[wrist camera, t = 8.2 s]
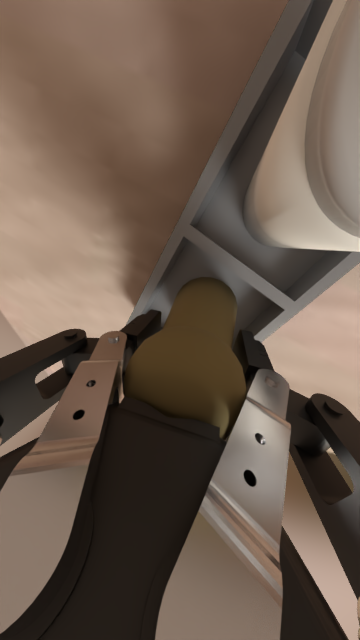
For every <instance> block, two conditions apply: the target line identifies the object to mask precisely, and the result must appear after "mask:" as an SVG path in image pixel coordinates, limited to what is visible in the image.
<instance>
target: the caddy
mask: <svg viewBox="0 0 360 640" xmlns="http://www.w3.org/2000/svg"><path fill="white" fill-rule="evenodd" d="M332 1H333V0H289V1H288V3H287V5H286V7H285V9H284V11H283V13H282V15H281V17H280V19H279V21H278V23H277V25H276V27H275V29H274V31H273V33H272V35H271V37H270V39H269V41H268V43H267V45H266V47H265V49H264V51H263V53H262V55H261V57H260V59H259V61H258V63H257V65H256V67H255V69H254V71H253V73H252V75H251V77H250V79H249V81H248V83H247V85H246V87H245V89H244V91H243V93H242V95H241V97H240V99H239V101H238V103H237V105H236V107H235V109H234V111H233V113H232V115H231V117H230V119H229V121H228V123H227V125H226V127H225V129H224V131H223V133H222V135H221V137H220V139H219V141H218V143H217V145H216V147H215V149H214V151H213V153H212V155H211V157H210V159H209V161H208V163H207V165H206V167H205V169H204V171H203V173H202V175H201V177H200V179H199V181H198V183H197V185H196V187H195V189H194V190H193V192H192V194H191V196H190V198H189V200H188V202H187V204H186V206H185V208H184V210H183V212H182V214H181V216H180V218H179V220H178V222H177V224H176V226H175V228H174V230H173V232H172V234H171V236H170V238H169V240H168V242H167V244H166V246H165V248H164V250H163V252H162V254H161V256H160V258H159V260H158V262H157V264H156V266H155V268H154V270H153V272H152V274H151V276H150V278H149V280H148V282H147V284H146V286H145V288H144V290H143V292H142V294H141V296H140V298H139V300H138V302H137V304H136V306H135V308H134V310H133V312H132V314H131V316H130V318H129V320H128V322H127V324H128V323H130V322H131V321H132V320H133V319H134V318H136V317H137V316H139V315H142V314H146V313H147V312H148V311H150V310H151V309H153V310H157V311H161V314H162V315H161V329H160V331H161V330H162V329H163V327H164V324H165V322H166V320H167V317H168V315H169V312H170V310H171V308H172V305H173V303H174V300H175V298H176V296H177V293H178V292H179V290H180V289H181V288H182V286H183V285H185V284H186V283H187V282H189V281H190V280H193V279H196V278H200V277H212V278H215V279H218V280H220V281H223V282H224V283H225V284H226V285H227V286H229V287H230V288H231V290H232V291H233V293H234V295H235V296H236V301H237V314H236V321H235V328H234V336H233V343H232V350H233V346H234V344H235V341H236V338H237V335H238V333H239V330H240V329H242V330H246V331H251V332H252V333H253V336H254V338H255V340H258V341H260V342H262V341H264V340H265V339H266V338H267V337H269V336H270V335H271V334H272V333H274V332H275V331H276V330H277V329H278V328H280V327H281V326H282V325H283V324H285V323H286V322H287V321H288V320H290V319H291V318H292V317H293V316H295V315H296V314H297V313H298V312H299V311H301V310H302V309H303V308H304V307H306V306H307V305H308V304H309V303H311V302H312V301H313V300H314V299H316V298H317V297H318V296H319V295H320V294H322V293H323V292H324V291H325V290H327V289H328V288H329V287H330V286H332V285H333V284H334V283H335V282H336V281H338V280H339V279H340V278H341V277H343V276H344V275H345V274H346V273H348V272H349V271H350V270H351V269H353V268H354V267H355V266H356V265H357V264H359V263H360V252H355V251H336V250H317V249H298V248H279V247H269V246H265V245H262V244H260V243H258V242H257V241H256V240H254V239H253V238H252V237H251V235H250V234H249V232H248V231H247V229H246V226H245V223H244V218H243V204H244V199H245V195H246V192H247V189H248V187H249V184H250V182H251V180H252V178H253V175H254V173H255V171H256V169H257V167H258V164H259V162H260V160H261V158H262V156H263V153H264V151H265V149H266V147H267V145H268V142H269V140H270V138H271V136H272V134H273V131H274V129H275V127H276V125H277V123H278V120H279V118H280V116H281V114H282V112H283V109H284V107H285V105H286V103H287V101H288V98H289V96H290V94H291V92H292V90H293V87H294V85H295V83H296V81H297V78H298V76H299V74H300V72H301V70H302V67H303V65H304V63H305V61H306V59H307V56H308V54H309V52H310V50H311V48H312V45H313V43H314V41H315V39H316V37H317V34H318V32H319V30H320V28H321V26H322V23H323V21H324V19H325V17H326V15H327V12H328V10H329V8H330V6H331V4H332ZM127 324H126V325H127Z"/></svg>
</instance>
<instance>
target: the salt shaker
mask: <svg viewBox="0 0 360 640" xmlns="http://www.w3.org/2000/svg"><path fill="white" fill-rule="evenodd" d="M243 218H244V223H245V226H246V229H247V231H248V232H249V234H250V235H251V237H252V238H253V239H254V240H256V241H257V242H258V243H260V244H262V245H265V246H269V247H279V248H298V249H317V250H336V251H355V252H360V0H333V1H332V4H331V6H330V8H329V10H328V12H327V15H326V17H325V19H324V21H323V23H322V26H321V28H320V30H319V32H318V34H317V37H316V39H315V41H314V43H313V45H312V48H311V50H310V52H309V54H308V56H307V59H306V61H305V63H304V65H303V67H302V70H301V72H300V74H299V76H298V78H297V81H296V83H295V85H294V87H293V90H292V92H291V94H290V96H289V98H288V101H287V103H286V105H285V107H284V109H283V112H282V114H281V116H280V118H279V120H278V123H277V125H276V127H275V129H274V131H273V134H272V136H271V138H270V140H269V142H268V145H267V147H266V149H265V151H264V153H263V156H262V158H261V160H260V162H259V164H258V167H257V169H256V171H255V173H254V175H253V178H252V180H251V182H250V184H249V187H248V189H247V192H246V195H245V199H244V204H243Z"/></svg>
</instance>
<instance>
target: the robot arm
mask: <svg viewBox="0 0 360 640" xmlns="http://www.w3.org/2000/svg"><path fill="white" fill-rule="evenodd" d="M161 315H162V314H161V311H157V310H153V309H151V310H150V311H148V312H147V313H146V314H142V315H139V316H137V317H136V318H134V319H133V320H132V321H131V322H130V323H128V324H127V325H126V326H125V327H124V328H122V329H121V330H120V331H111V332H107V333H105V334H103V335H102V336H101V337H100V338H87V337H86V332H85V331H84V330H81V329H69V330H65V331H63V332H60V333H58V334H56V335H53V336H51V337H49V338H46V339H44V340H42V341H39V342H37V343H35V344H32V345H30V346H28V347H25V348H23V349H21V350H19V351H16V352H14V353H12V354H9V355H7V356H5V357H2V358H0V446H1V445H2V444H3V443H5V442H6V441H7V440H8V439H10V438H11V437H12V436H14V435H15V434H16V433H17V432H19V431H20V430H21V429H23V428H24V427H25V426H27V425H28V424H29V423H30V422H32V421H33V420H34V419H36V418H37V417H38V416H39V415H41V414H42V413H43V412H45V411H46V410H47V409H48V408H49V407H51V406H52V405H54V404H55V403H56V402H58V401H59V402H58V404H57V406H56V408H55V410H54V411H53V413H52V415H51V417H50V419H49V421H48V422H47V424H46V426H45V428H44V430H43V432H42V434H41V435H40V437H38V438H36V439H34V440H32V441H30V442H28V443H27V444H25V445H23V446H21V447H19V448H17V449H15V450H13V451H11V452H9V453H7V454H6V455H4V456H2V457H0V640H348V638H347V636H346V634H345V633H344V631H343V629H342V627H341V626H340V624H339V622H338V621H337V619H336V617H335V615H334V614H333V612H332V610H331V609H330V607H329V605H328V603H327V602H326V600H325V599H324V597H323V595H322V593H321V591H320V590H319V588H318V586H317V585H316V583H315V581H314V579H313V578H312V576H311V574H310V573H309V571H308V569H307V567H306V566H305V564H304V562H303V560H302V559H301V557H300V555H299V554H298V552H297V550H296V549H295V547H294V545H293V543H292V542H291V540H290V538H289V536H288V535H287V533H286V531H285V530H284V528H283V526H282V517H283V506H284V496H285V486H286V475H287V464H288V454H289V452H290V454H291V456H292V458H293V460H294V462H295V465H296V467H297V469H298V471H299V473H300V475H301V478H302V480H303V482H304V484H305V486H306V489H307V491H308V493H309V495H310V497H311V499H312V502H313V504H314V506H315V508H316V510H317V513H318V515H319V517H320V519H321V521H322V524H323V526H324V528H325V530H326V532H327V535H328V537H329V539H330V541H331V543H332V545H333V547H334V549H335V552H336V554H337V556H338V559H339V561H340V563H341V565H342V567H343V569H344V571H345V574H346V576H347V578H348V580H349V583H350V585H351V587H352V589H353V591H354V593H355V595H356V598H357V600H358V603H357V613H358V620H359V625H360V422H359V421H358V420H357V419H356V418H355V417H354V415H353V414H352V413H351V412H350V411H349V410H348V409H347V408H346V407H345V406H343V405H342V404H341V403H339V402H338V401H336V400H335V399H333V398H331V397H329V396H327V395H324V394H318V393H317V394H313V395H312V396H311V398H310V399H309V398H307V397H305V396H303V395H301V394H299V393H297V392H295V391H293V390H291V389H290V388H289V384H288V382H287V381H286V380H285V379H284V378H283V377H282V376H281V375H280V374H278V373H276V372H275V371H274V369H273V367H272V364H271V362H270V359H269V357H268V354H267V352H266V349H265V347H264V345H263V344H262V343H261V342H260V341H258V340H255V338H254V336H253V333H252V332H251V331H246V330H242V329H240V330H239V333H238V335H237V338H236V341H235V344H234V346H233V350H232V351H233V353H234V354H235V356H236V357H237V359H238V360H239V362H240V364H241V366H242V368H243V373H244V378H245V383H246V388H247V396H246V398H245V400H244V403H243V405H242V407H241V409H240V411H239V414H238V416H237V418H236V420H235V422H234V424H233V426H232V428H231V430H230V432H229V434H228V436H227V438H226V439H225V440H224V439H222V438H221V437H220V427H217V426H214V425H211V424H208V423H205V422H202V421H199V420H196V419H184V418H169V417H166V416H165V415H163V414H162V413H160V412H159V411H157V410H156V409H154V408H153V407H151V406H150V405H148V404H147V403H144V402H141V401H138V400H135V399H132V398H129V397H126V396H124V393H123V386H124V376H125V371H126V367H127V365H128V362H129V360H130V358H131V357H132V355H133V354H134V353H135V351H136V350H137V349H138V347H139V346H140V345H141V344H142V343H143V341H144V340H145V339H147V338H149V337H150V336H152V335H154V334H156V333H157V332H159V331H160V329H161ZM60 360H62V363H63V368H61V369H59V370H58V371H56V372H55V373H53V374H51V375H50V376H48V377H47V378H45V379H43V380H42V381H40V382H39V383H37V384H35V378H36V376H37V374H39V373H40V372H41V371H43V370H44V369H46V368H48V367H50V366H51V365H53V364H55V363H57V362H58V361H60ZM330 447H331V448H332V450H333V451H334V453H335V454H336V456H337V457H338V459H339V460H340V462H341V463H342V465H343V466H344V468H345V469H346V471H347V472H348V474H349V475H350V477H351V479H352V482H353V485H354V491H353V493H352V492H351V490H350V488H349V487H348V485H347V483H346V482H345V480H344V479H343V477H342V476H341V474H340V472H339V471H338V469H337V468H336V466H335V464H334V463H333V461H332V460H331V458H330V457H329V455H328V453H327V452H326V451H327V450H328V449H329V448H330ZM358 638H359V640H360V628H359V631H358Z"/></svg>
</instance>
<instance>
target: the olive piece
mask: <svg viewBox="0 0 360 640" xmlns="http://www.w3.org/2000/svg"><path fill="white" fill-rule="evenodd" d="M236 314H237V301H236V296H235V295H234V293H233V291H232V290H231V288H230V287H229V286H227V285H226V284H225V283H224V282H223V281H220V280H218V279H215V278H212V277H200V278H196V279H193V280H190V281H189V282H187V283H186V284H185V285H183V286H182V288H181V289H180V290H179V292H178V293H177V296H176V298H175V300H174V303H173V305H172V308H171V310H170V312H169V315H168V317H167V320H166V322H165V324H164V327H163V329H162V330H161V331H159V332H157V333H156V334H154V335H152V336H150V337H149V338H147V339H145V340H144V341H143V343H142V344H141V345H140V346H139V347H138V349H137V350H136V351H135V353H134V354H133V355H132V357H131V358H130V360H129V362H128V365H127V367H126V371H125V376H124V386H123V393H124V396H126V397H129V398H132V399H135V400H138V401H141V402H144V403H147V404H148V405H150V406H151V407H153V408H154V409H156V410H157V411H159V412H160V413H162V414H163V415H165V416H166V417H169V418H184V419H196V420H199V421H202V422H205V423H208V424H211V425H214V426H217V427H220V437H221V438H222V439H224V440H225V439H226V438H227V436H228V434H229V432H230V430H231V428H232V426H233V424H234V422H235V420H236V418H237V416H238V414H239V411H240V409H241V407H242V405H243V403H244V400H245V398H246V396H247V388H246V383H245V378H244V373H243V368H242V366H241V364H240V362H239V360H238V359H237V357H236V356H235V354H234V353H233V351H232V343H233V336H234V328H235V321H236Z"/></svg>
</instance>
